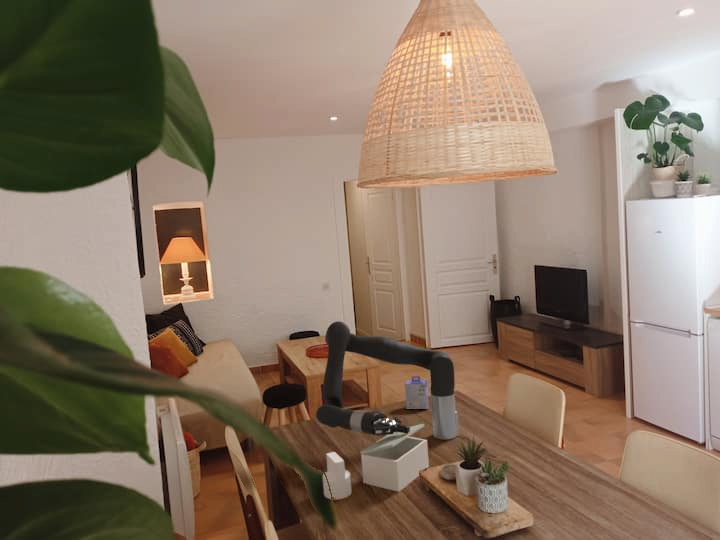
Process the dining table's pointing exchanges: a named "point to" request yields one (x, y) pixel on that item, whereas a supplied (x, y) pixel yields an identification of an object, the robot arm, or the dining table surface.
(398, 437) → the lid
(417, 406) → the ink cartridge box
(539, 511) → the dining table surface
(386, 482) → the storage box
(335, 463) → the cylinder with rectangular tab
